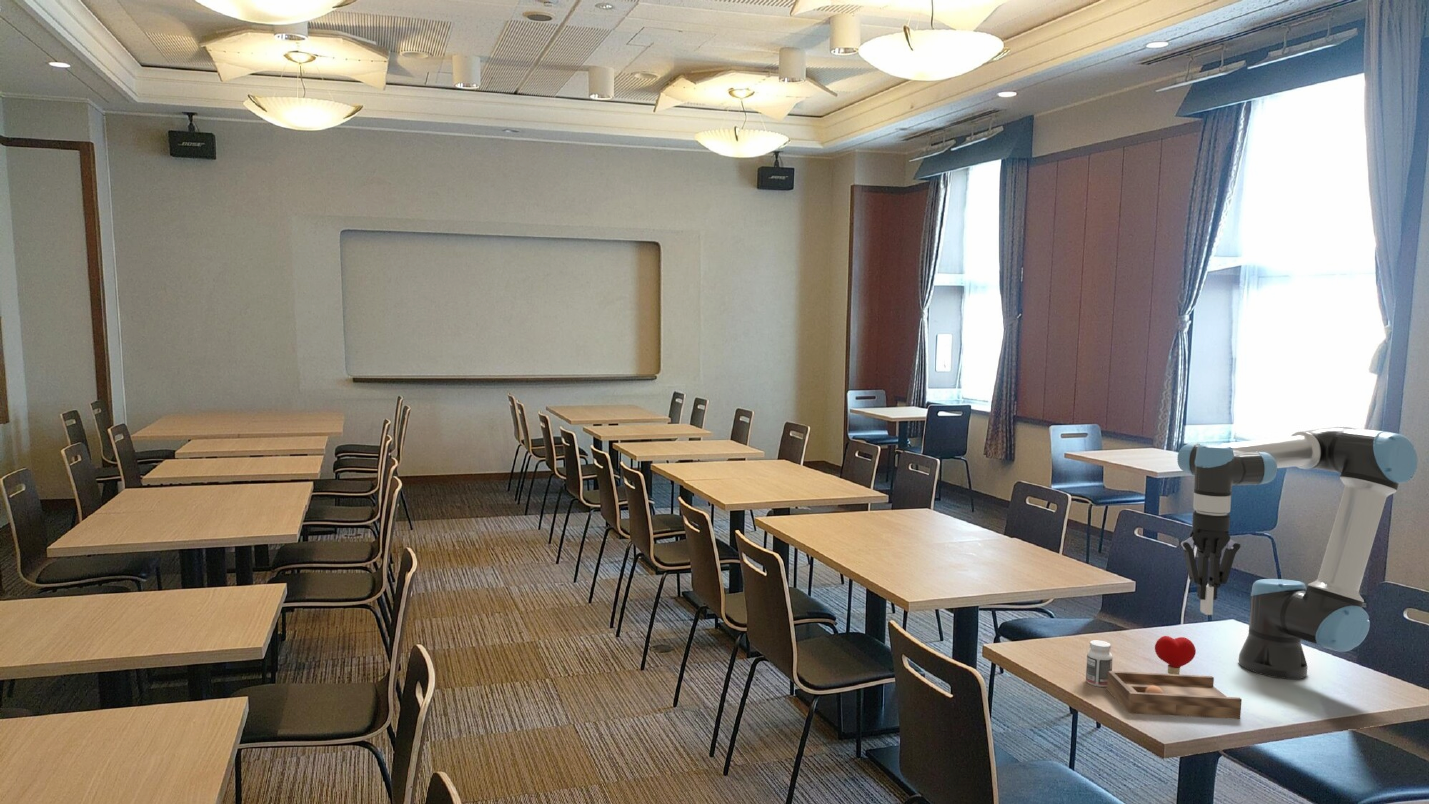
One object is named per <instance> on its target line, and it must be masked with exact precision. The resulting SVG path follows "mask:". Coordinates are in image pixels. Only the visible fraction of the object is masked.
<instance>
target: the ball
mask: <svg viewBox="0 0 1429 804" xmlns="http://www.w3.org/2000/svg"><path fill="white" fill-rule="evenodd" d="M1145 693H1162V694H1164V693H1163V691H1162V690H1161V689H1160V688H1159V687H1157V686H1149V687H1148V688H1147V689H1146V690H1145Z"/></svg>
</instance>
